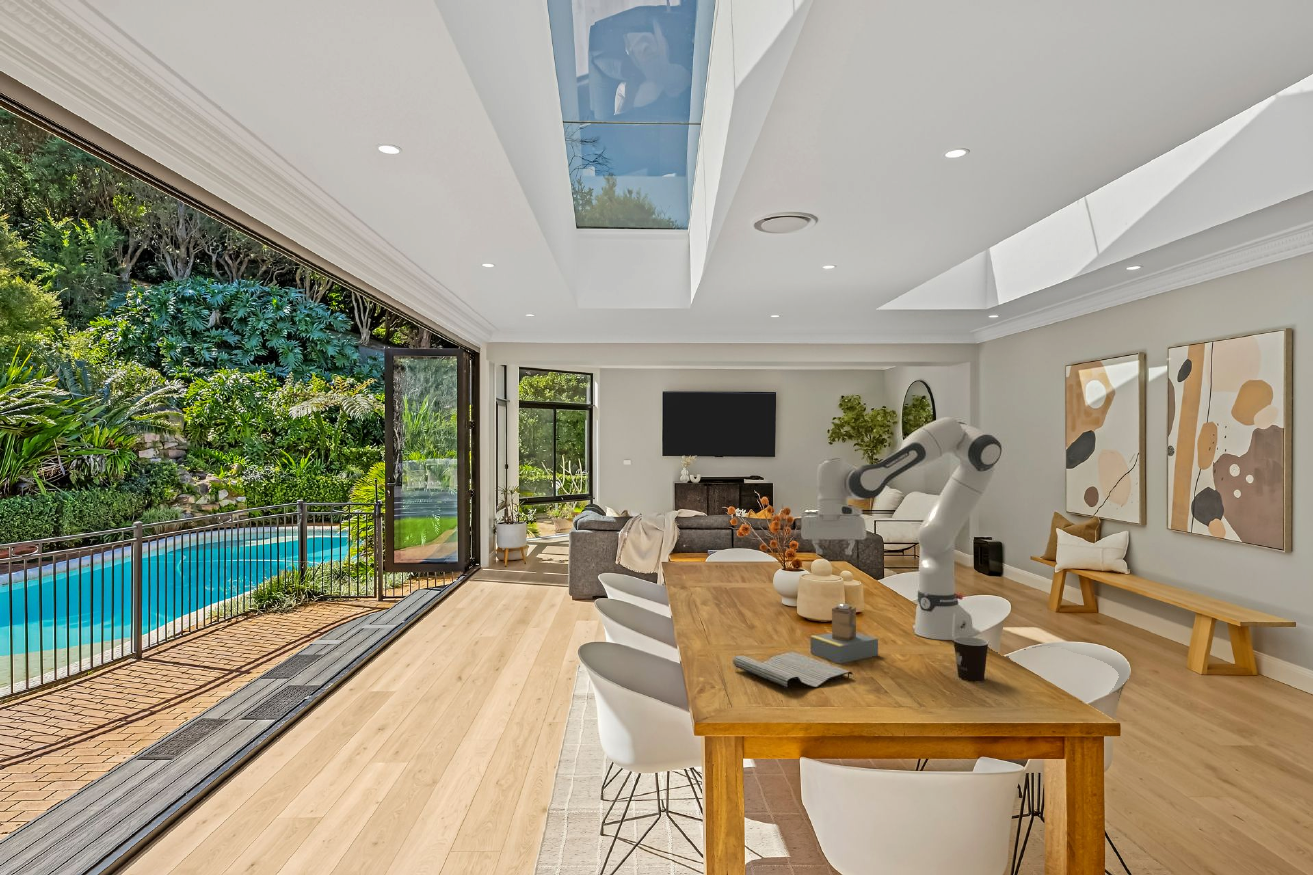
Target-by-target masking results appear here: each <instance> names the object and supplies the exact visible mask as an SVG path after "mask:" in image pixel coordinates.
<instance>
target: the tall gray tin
mask: <svg viewBox="0 0 1313 875" xmlns="http://www.w3.org/2000/svg"><path fill="white" fill-rule="evenodd" d="M856 632H857V607H854V606H849V610H840V609H838V606H835V607H833V608H831V633H832V639H837V640H843V641H850V640H852V639H853V638H855V637H856Z"/></svg>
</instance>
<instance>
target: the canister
mask: <svg viewBox="0 0 1313 875" xmlns="http://www.w3.org/2000/svg"><path fill="white" fill-rule="evenodd" d="M849 607H850V604H848V603H838V609H840V610H849Z"/></svg>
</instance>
